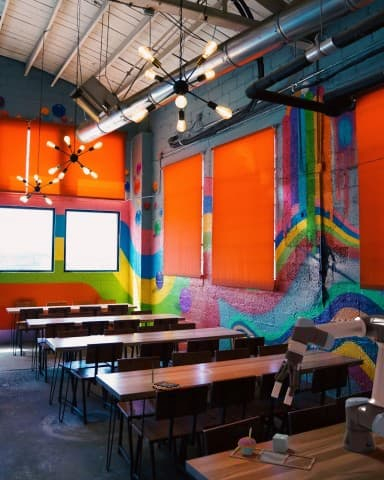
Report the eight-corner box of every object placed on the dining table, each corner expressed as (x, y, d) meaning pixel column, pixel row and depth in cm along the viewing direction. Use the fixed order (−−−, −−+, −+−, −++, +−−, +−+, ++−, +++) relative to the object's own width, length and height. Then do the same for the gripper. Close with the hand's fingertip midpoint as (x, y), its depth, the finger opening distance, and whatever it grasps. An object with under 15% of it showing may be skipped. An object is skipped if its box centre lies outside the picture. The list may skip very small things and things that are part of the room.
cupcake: (254, 449, 224) (254, 424, 225) (258, 456, 216) (257, 430, 216) (237, 450, 224) (236, 424, 225) (239, 457, 215) (239, 430, 216)
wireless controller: (181, 389, 340) (180, 365, 341) (167, 393, 330) (167, 368, 331) (161, 384, 353) (161, 362, 354) (148, 388, 343) (148, 365, 344)
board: (239, 445, 229) (239, 445, 229) (315, 458, 213) (315, 457, 213) (229, 456, 216) (229, 455, 216) (309, 470, 200) (309, 469, 200)
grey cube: (276, 446, 228) (276, 433, 229) (288, 448, 226) (288, 435, 226) (273, 450, 223) (272, 437, 223) (285, 452, 220) (285, 439, 221)
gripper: (276, 346, 214) (262, 391, 210) (300, 352, 190) (284, 404, 186) (291, 351, 215) (276, 396, 211) (316, 359, 191) (301, 410, 187)
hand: (280, 400), depth 198 cm, fingers open, 13 cm apart
